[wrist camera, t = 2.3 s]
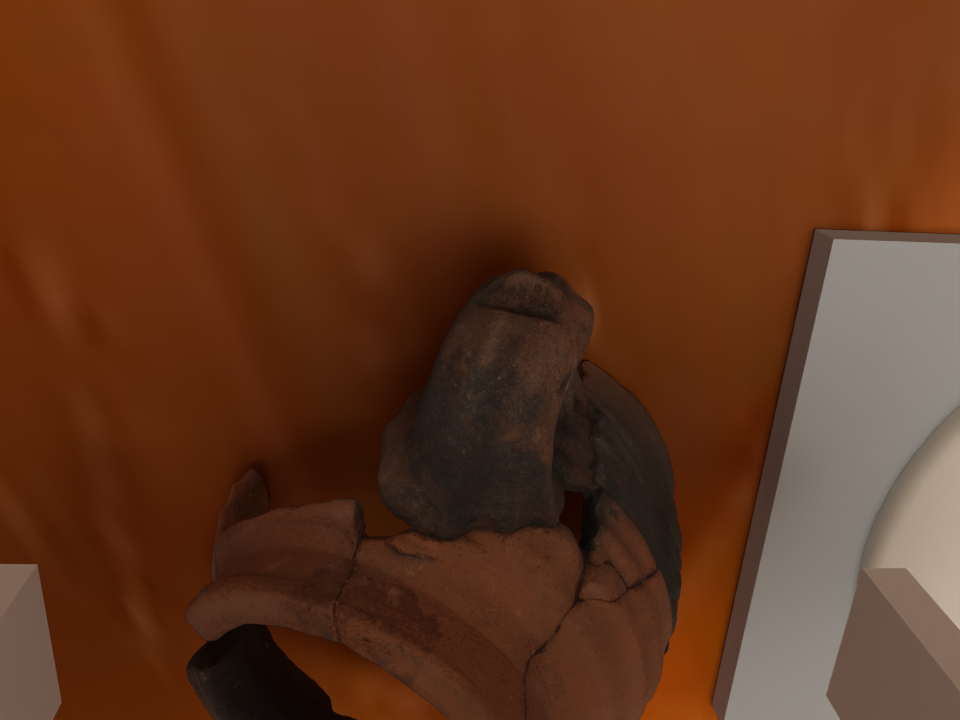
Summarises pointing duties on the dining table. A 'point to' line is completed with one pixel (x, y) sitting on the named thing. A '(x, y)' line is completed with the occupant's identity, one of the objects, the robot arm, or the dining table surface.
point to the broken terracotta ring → (468, 540)
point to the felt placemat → (838, 456)
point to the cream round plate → (924, 519)
